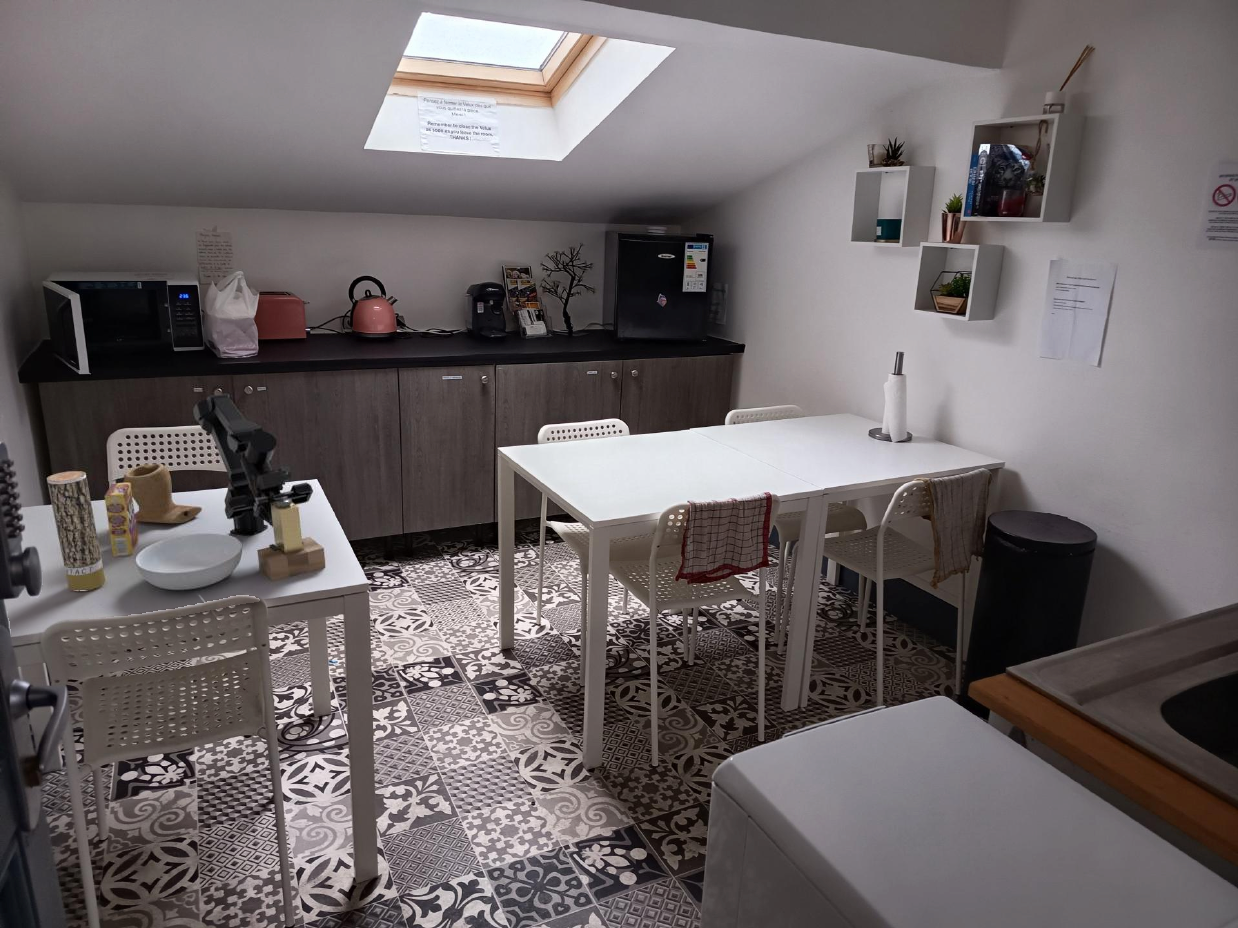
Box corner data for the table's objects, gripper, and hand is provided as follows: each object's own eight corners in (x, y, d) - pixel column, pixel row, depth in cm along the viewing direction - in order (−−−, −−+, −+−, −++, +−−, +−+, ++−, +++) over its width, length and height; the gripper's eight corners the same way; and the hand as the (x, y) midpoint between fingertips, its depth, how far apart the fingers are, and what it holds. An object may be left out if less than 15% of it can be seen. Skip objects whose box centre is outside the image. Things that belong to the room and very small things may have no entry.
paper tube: (79, 579, 184) (58, 471, 176) (111, 578, 184) (92, 471, 176) (62, 593, 177) (39, 481, 169) (96, 592, 178) (74, 481, 170)
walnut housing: (259, 570, 190) (256, 547, 188) (311, 556, 197) (309, 535, 196) (272, 582, 184) (269, 559, 182) (325, 568, 192) (323, 545, 190)
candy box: (134, 555, 196) (123, 494, 191) (113, 557, 194) (101, 495, 190) (140, 540, 204) (130, 481, 199) (120, 543, 202) (109, 483, 198)
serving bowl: (135, 608, 172) (130, 578, 170) (145, 567, 190) (140, 539, 188) (246, 592, 180) (242, 562, 178) (245, 554, 198) (241, 527, 196)
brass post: (277, 564, 192) (270, 499, 187) (294, 559, 195) (287, 495, 190) (287, 573, 188) (279, 506, 183) (304, 568, 190) (298, 502, 185)
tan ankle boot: (120, 526, 212) (110, 470, 208) (153, 510, 223) (145, 456, 219) (172, 532, 209) (164, 475, 205) (204, 515, 220) (196, 461, 216)
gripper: (222, 464, 184) (245, 526, 180) (306, 449, 196) (329, 507, 192) (215, 488, 192) (237, 548, 188) (296, 472, 204) (318, 528, 200)
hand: (281, 532), depth 192 cm, fingers closed
